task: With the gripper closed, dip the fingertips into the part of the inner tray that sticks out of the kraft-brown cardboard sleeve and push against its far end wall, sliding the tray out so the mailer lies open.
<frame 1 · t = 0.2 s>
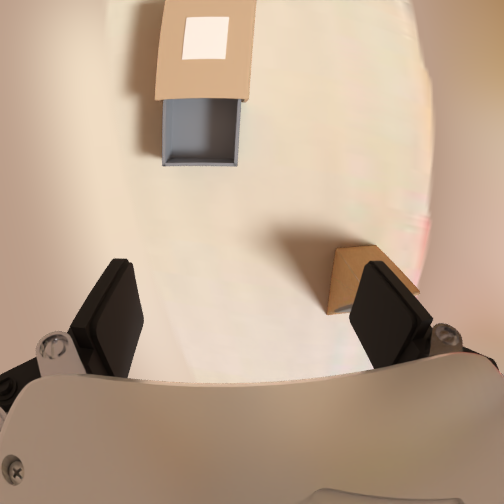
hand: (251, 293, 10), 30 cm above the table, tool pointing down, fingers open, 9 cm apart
mailer sleeve: (208, 49, 28), on the table
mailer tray: (202, 107, 30), point 3 cm above the table, slide at 9.0 cm
sandwich container: (349, 281, 49), on the table
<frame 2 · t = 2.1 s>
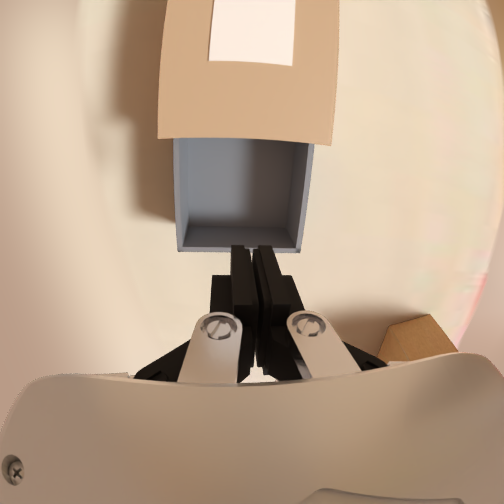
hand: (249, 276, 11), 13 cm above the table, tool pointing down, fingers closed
mailer sleeve: (247, 44, 17), on the table
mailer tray: (242, 148, 19), point 3 cm above the table, slide at 9.0 cm
sandwich container: (396, 351, 38), on the table
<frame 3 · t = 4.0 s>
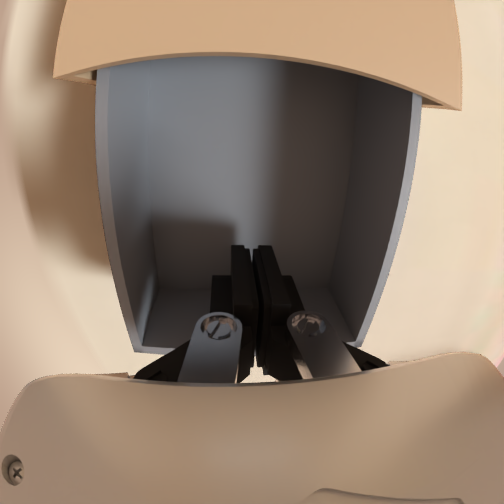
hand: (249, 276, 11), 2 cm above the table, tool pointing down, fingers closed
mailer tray: (258, 142, 9), point 3 cm above the table, slide at 10.3 cm, touching gripper
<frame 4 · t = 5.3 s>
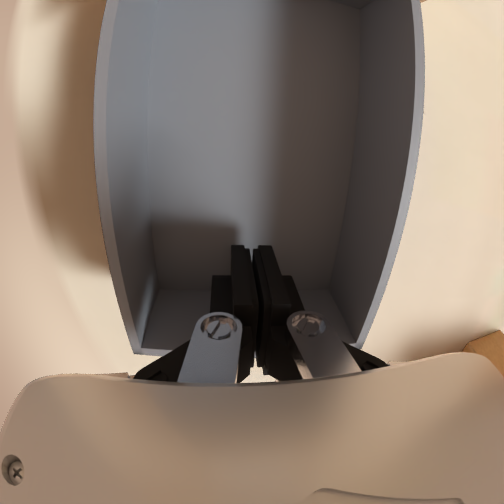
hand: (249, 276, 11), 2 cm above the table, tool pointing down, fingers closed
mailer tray: (259, 142, 8), point 3 cm above the table, slide at 15.0 cm, touching gripper
sandwich container: (455, 376, 25), on the table
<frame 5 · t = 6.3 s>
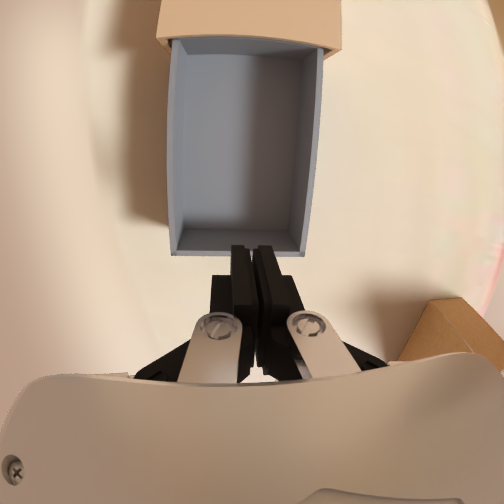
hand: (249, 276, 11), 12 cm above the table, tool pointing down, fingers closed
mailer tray: (241, 143, 17), point 3 cm above the table, slide at 15.0 cm
sandwich container: (424, 338, 34), on the table
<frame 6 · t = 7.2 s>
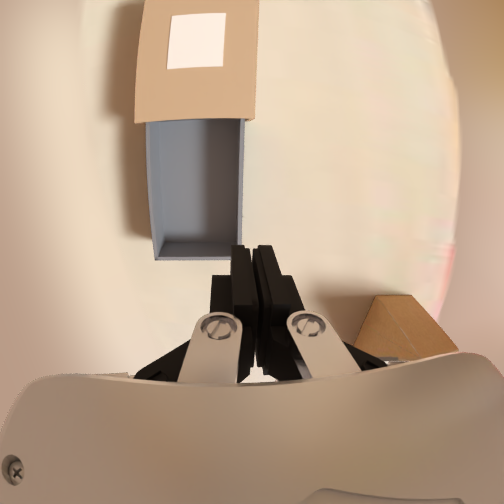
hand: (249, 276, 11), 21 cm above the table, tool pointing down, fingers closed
mailer sleeve: (202, 55, 23), on the table
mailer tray: (196, 186, 27), point 3 cm above the table, slide at 15.0 cm
sandwich container: (377, 329, 43), on the table
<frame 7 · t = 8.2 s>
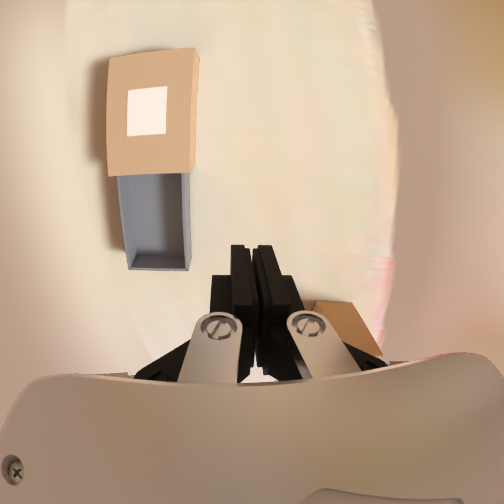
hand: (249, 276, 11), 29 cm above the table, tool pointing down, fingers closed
mailer sleeve: (158, 112, 32), on the table
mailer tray: (156, 217, 37), point 3 cm above the table, slide at 15.0 cm
sandwich container: (321, 329, 54), on the table
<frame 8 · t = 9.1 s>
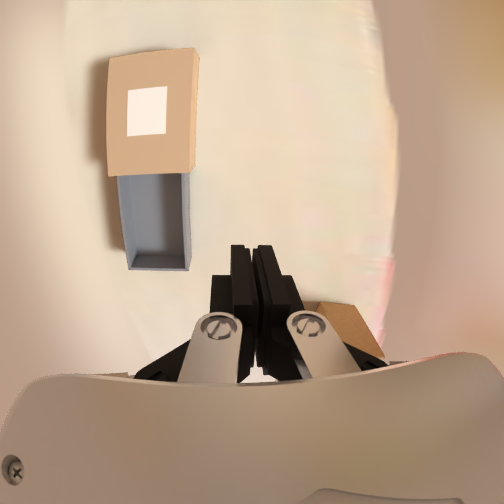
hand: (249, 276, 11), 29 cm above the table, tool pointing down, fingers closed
mailer sleeve: (158, 112, 32), on the table
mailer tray: (156, 217, 37), point 3 cm above the table, slide at 15.0 cm
sandwich container: (323, 330, 54), on the table
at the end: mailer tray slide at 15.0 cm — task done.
